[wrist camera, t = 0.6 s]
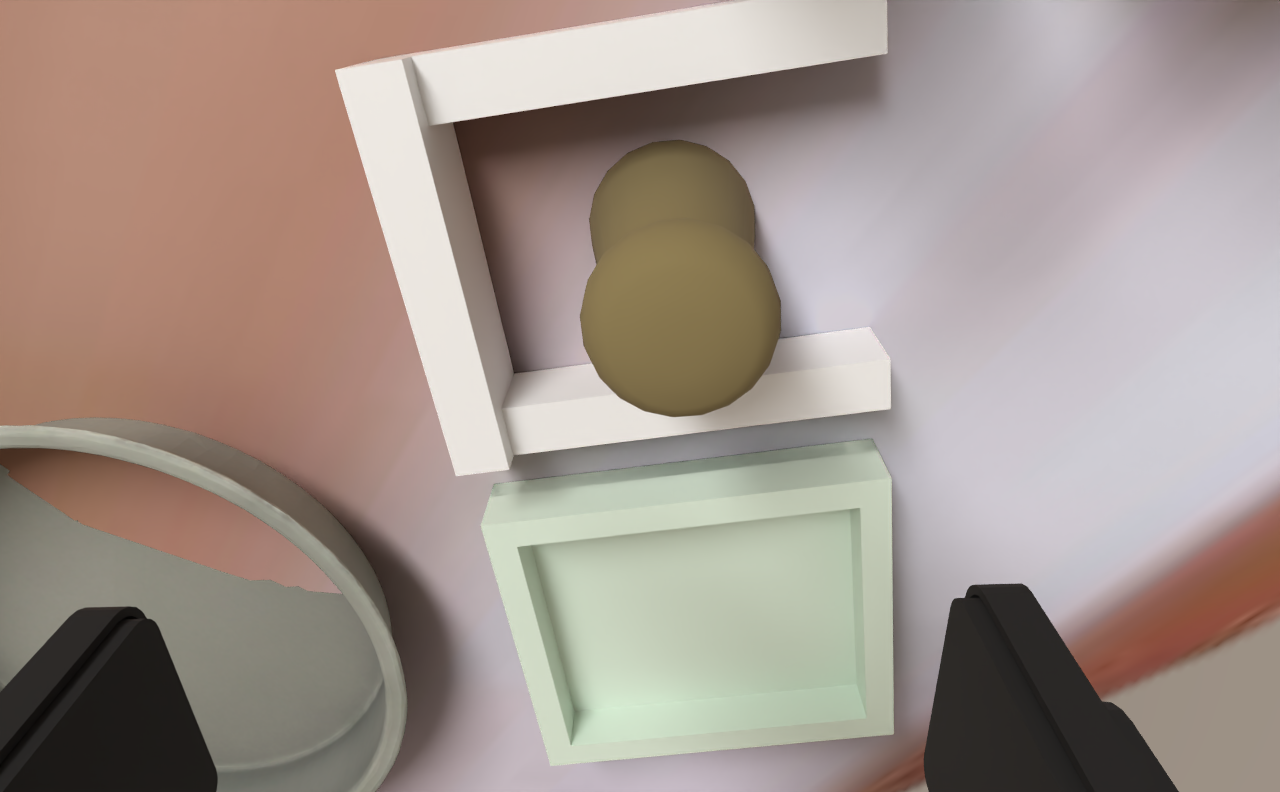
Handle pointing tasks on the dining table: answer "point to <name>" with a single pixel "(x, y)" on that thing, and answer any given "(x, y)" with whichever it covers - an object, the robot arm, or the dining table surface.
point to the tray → (702, 601)
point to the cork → (677, 283)
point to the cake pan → (219, 613)
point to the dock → (452, 247)
